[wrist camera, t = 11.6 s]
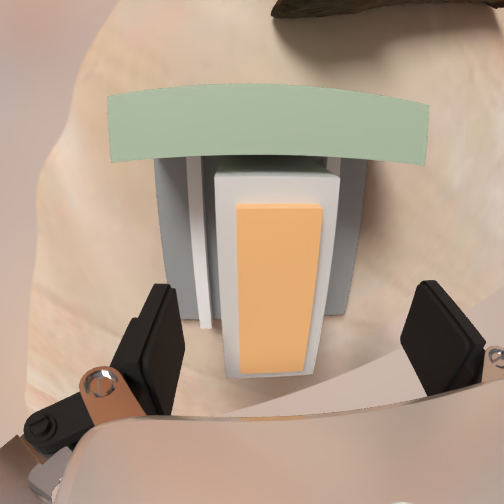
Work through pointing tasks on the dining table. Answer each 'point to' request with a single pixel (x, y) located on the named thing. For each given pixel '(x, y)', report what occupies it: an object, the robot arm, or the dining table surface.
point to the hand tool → (347, 6)
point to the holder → (273, 261)
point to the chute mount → (255, 143)
